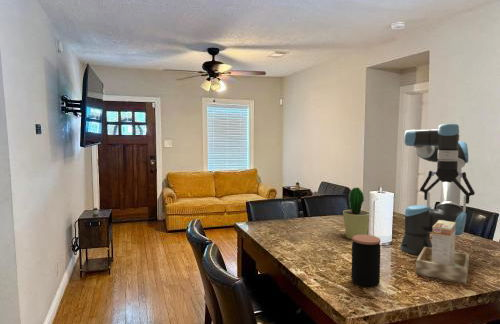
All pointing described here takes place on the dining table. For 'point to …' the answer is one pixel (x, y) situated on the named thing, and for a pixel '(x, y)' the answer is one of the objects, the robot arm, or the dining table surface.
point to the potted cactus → (356, 215)
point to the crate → (443, 267)
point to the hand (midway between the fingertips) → (445, 209)
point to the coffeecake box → (443, 242)
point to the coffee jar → (366, 260)
